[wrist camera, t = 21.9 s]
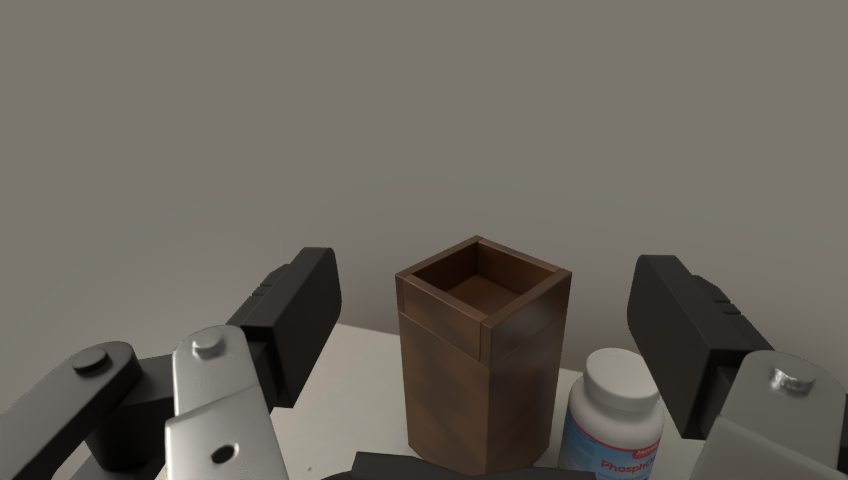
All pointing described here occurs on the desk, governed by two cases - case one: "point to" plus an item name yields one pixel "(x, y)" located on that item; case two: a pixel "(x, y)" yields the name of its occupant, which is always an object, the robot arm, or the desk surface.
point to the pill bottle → (612, 418)
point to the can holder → (481, 355)
